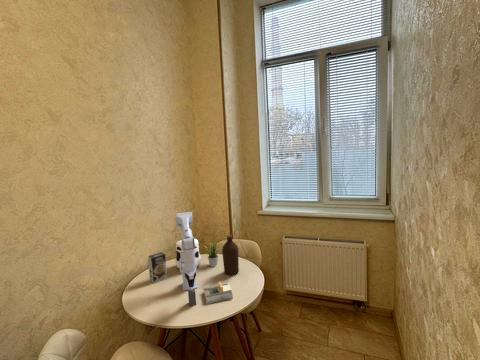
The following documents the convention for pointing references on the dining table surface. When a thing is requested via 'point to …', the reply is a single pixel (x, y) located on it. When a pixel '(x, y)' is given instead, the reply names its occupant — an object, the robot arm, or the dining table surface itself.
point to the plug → (192, 297)
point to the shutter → (224, 288)
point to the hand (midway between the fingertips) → (191, 286)
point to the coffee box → (157, 267)
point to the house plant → (213, 254)
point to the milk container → (180, 252)
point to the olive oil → (230, 257)
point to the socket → (218, 296)
